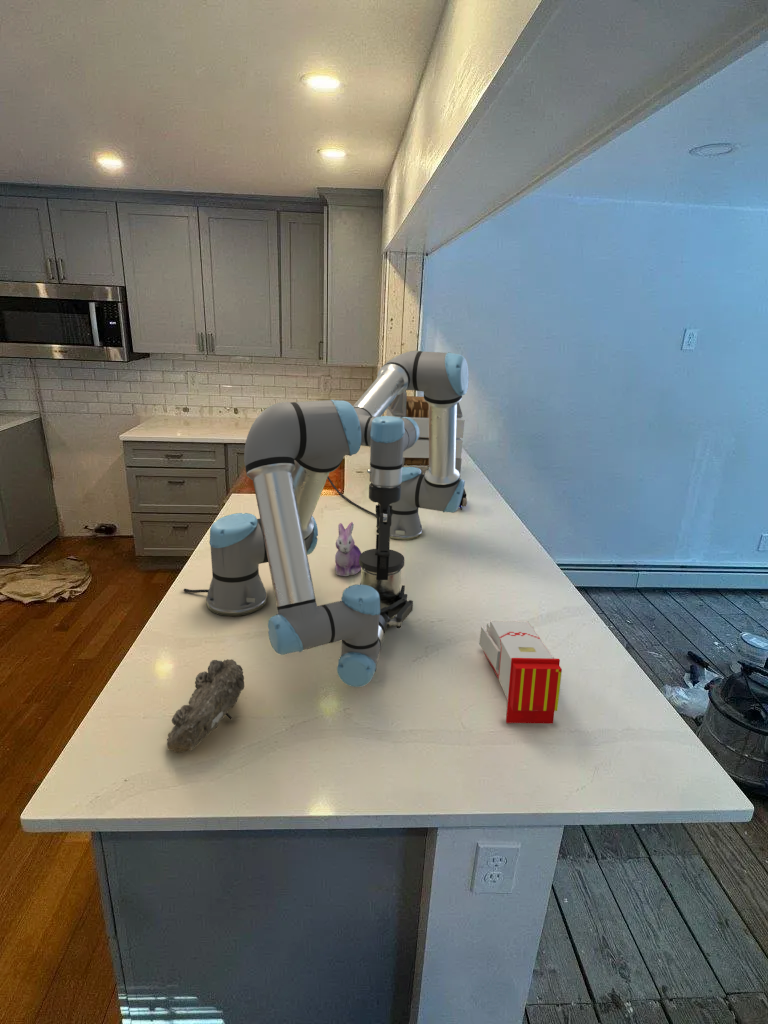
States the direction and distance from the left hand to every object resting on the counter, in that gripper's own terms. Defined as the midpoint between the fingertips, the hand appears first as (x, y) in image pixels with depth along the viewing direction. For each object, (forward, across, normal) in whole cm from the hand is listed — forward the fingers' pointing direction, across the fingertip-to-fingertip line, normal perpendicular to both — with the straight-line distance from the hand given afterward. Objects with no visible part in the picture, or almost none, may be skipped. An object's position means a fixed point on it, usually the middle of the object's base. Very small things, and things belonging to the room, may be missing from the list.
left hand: (382, 587), depth 147 cm
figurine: (+21, -14, -7) cm, 26 cm away
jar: (-4, 0, -7) cm, 8 cm away
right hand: (-4, 0, +8) cm, 9 cm away
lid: (-4, 0, +10) cm, 11 cm away
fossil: (-47, -26, -7) cm, 54 cm away
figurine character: (+90, +17, -7) cm, 92 cm away
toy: (-24, +32, -7) cm, 41 cm away
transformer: (+135, -2, -7) cm, 135 cm away
